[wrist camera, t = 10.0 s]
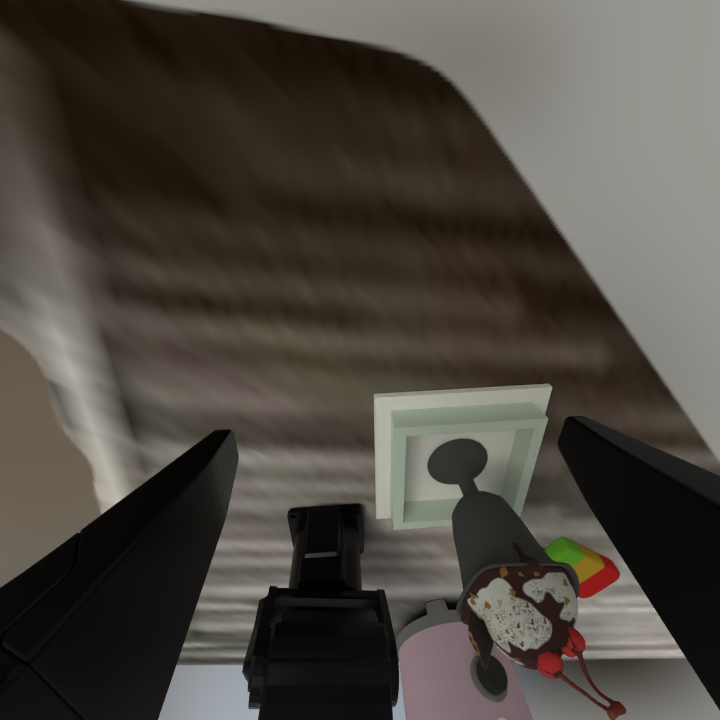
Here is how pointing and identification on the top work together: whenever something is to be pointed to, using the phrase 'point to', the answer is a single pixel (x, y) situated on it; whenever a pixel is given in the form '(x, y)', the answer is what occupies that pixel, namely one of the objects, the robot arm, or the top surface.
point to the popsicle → (584, 565)
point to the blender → (454, 673)
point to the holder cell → (445, 423)
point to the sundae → (509, 577)
